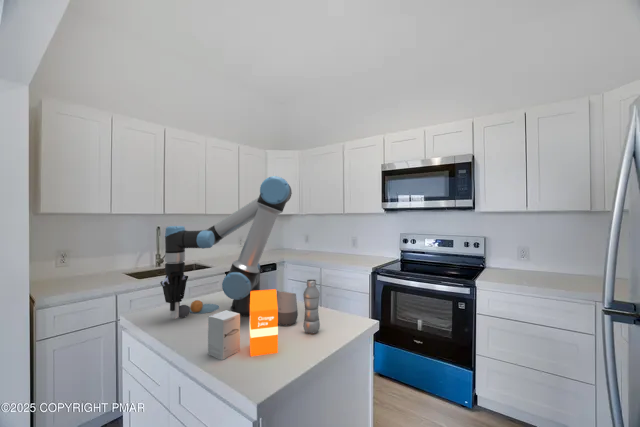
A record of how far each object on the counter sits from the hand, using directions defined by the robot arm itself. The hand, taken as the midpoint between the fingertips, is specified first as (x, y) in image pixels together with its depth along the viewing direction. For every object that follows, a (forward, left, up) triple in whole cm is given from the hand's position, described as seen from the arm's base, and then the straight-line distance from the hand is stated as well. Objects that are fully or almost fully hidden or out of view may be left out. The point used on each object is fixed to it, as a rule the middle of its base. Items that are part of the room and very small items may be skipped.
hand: (174, 317), depth 119 cm
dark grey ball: (0, -6, +1) cm, 6 cm away
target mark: (-3, -18, -2) cm, 18 cm away
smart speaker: (-48, -5, -2) cm, 48 cm away
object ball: (-2, -13, +1) cm, 13 cm away
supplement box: (-34, +23, -2) cm, 41 cm away
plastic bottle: (-60, +3, -2) cm, 60 cm away
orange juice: (-46, +19, -2) cm, 49 cm away
